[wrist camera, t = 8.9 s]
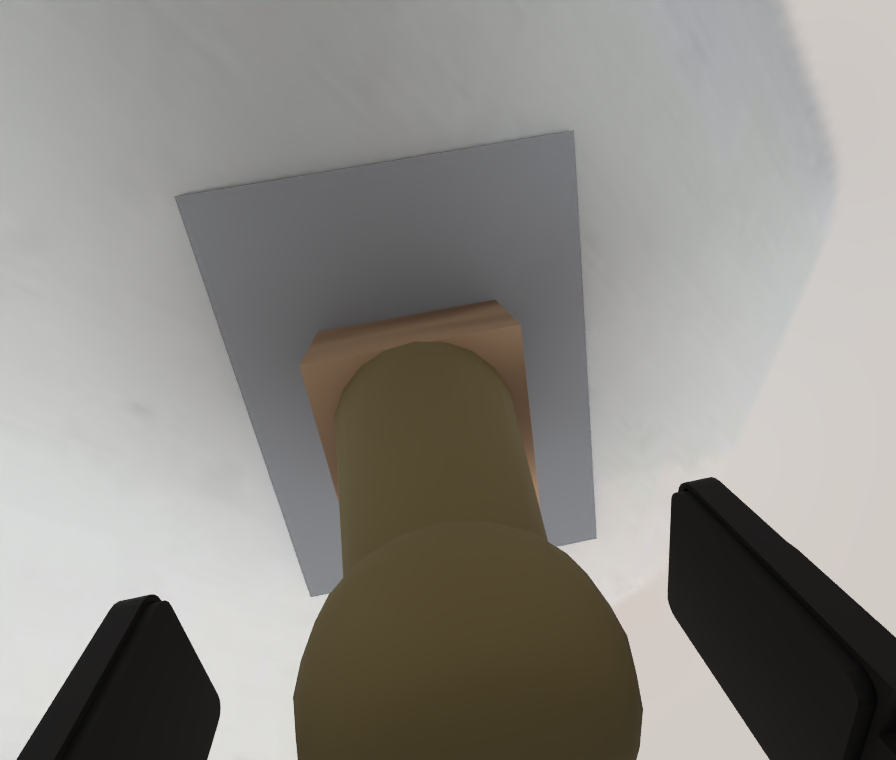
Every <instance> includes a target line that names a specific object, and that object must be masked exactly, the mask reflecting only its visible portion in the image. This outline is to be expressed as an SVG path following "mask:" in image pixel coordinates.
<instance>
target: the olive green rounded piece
mask: <svg viewBox="0 0 896 760" xmlns="http://www.w3.org/2000/svg"><path fill="white" fill-rule="evenodd" d="M335 432H336V454H337V472H338V491H339V510H340V528H341V547H342V566H343V579H342V580H341V581H340V582H339V583H338V585H337V586H336V587H335V588H334V589H333V590H332V592H331V593H330V594H329V596H328V598H327V599H326V601H325V603H324V605H323V607H322V609H321V611H320V613H319V615H318V617H317V619H316V621H315V623H314V626H313V629H312V632H311V634H310V637H309V640H308V643H307V645H306V648H305V651H304V654H303V656H302V659H301V663H300V668H299V672H298V677H297V682H296V687H295V691H294V696H293V701H294V716H295V732H296V744H297V755H298V760H636V758H637V754H638V751H639V747H640V736H641V725H642V713H643V708H642V702H641V696H640V691H639V686H638V680H637V675H636V670H635V666H634V662H633V658H632V654H631V650H630V645H629V642H628V638H627V635H626V633H625V631H624V630H623V628H622V626H621V624H620V623H619V621H618V619H617V617H616V615H615V614H614V612H613V610H612V608H611V606H610V605H609V603H608V602H607V601H606V599H605V598H604V597H603V595H602V594H601V592H600V591H599V590H598V588H597V587H596V585H595V584H594V583H593V581H592V580H591V579H590V577H589V576H588V574H587V573H586V572H585V571H584V570H583V569H582V568H581V567H580V566H579V565H578V564H577V563H576V562H575V561H574V560H573V559H572V558H571V557H570V556H569V555H568V554H566V553H565V552H563V551H562V550H560V549H559V548H557V547H555V546H554V545H552V544H551V543H549V542H548V539H547V535H546V532H545V528H544V524H543V520H542V516H541V512H540V508H539V504H538V500H537V496H536V492H535V488H534V484H533V480H532V477H531V473H530V469H529V465H528V461H527V457H526V453H525V449H524V445H523V441H522V437H521V433H520V429H519V425H518V422H517V418H516V414H515V410H514V406H513V402H512V398H511V394H510V390H509V388H508V387H507V385H506V384H505V382H504V381H503V379H502V378H501V377H500V375H499V374H498V372H497V371H496V369H495V368H494V367H493V366H492V365H490V364H489V363H488V362H486V361H485V360H484V359H482V358H481V357H480V356H478V355H477V354H476V353H474V352H473V351H471V350H468V349H465V348H462V347H459V346H456V345H453V344H450V343H447V342H418V341H414V342H411V343H407V344H404V345H401V346H397V347H394V348H391V349H387V350H385V351H383V352H382V353H380V354H379V355H377V356H376V357H374V358H373V359H371V360H370V361H368V362H367V363H366V364H364V365H363V366H361V367H360V368H359V370H358V371H357V372H356V374H355V375H354V376H353V377H352V379H351V380H350V381H349V383H348V384H347V385H346V387H345V388H344V389H343V392H342V395H341V398H340V401H339V404H338V407H337V410H336V413H335Z"/></svg>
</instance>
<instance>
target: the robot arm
mask: <svg viewBox="0 0 896 760" xmlns="http://www.w3.org/2000/svg"><path fill="white" fill-rule="evenodd" d="M668 601H669V605H670V608H671V610H672V613H673V614H674V616H675V618H676V619H677V621H678V623H679V624H680V625H681V627H682V629H683V630H684V631H685V633H686V634H687V636H688V638H689V639H690V641H691V642H692V644H693V645H694V646H695V648H696V649H697V651H698V653H699V654H700V656H701V657H702V659H703V660H704V662H705V663H706V665H707V666H708V668H709V669H710V671H711V672H712V674H713V675H714V676H715V678H716V680H717V681H718V683H719V684H720V685H721V687H722V689H723V690H724V692H725V693H726V695H727V696H728V698H729V699H730V701H731V702H732V704H733V705H734V707H735V708H736V710H737V711H738V713H739V714H740V716H741V717H742V719H743V720H744V722H745V723H746V725H747V726H748V728H749V729H750V731H751V732H752V734H753V735H754V737H755V738H756V740H757V741H758V743H759V744H760V746H761V747H762V749H763V750H764V752H765V753H766V755H767V756H768V758H769V759H770V760H896V637H894V636H893V635H892V634H891V633H890V632H889V631H888V630H887V629H885V628H884V627H883V626H882V625H881V624H880V623H879V622H878V621H876V620H875V619H874V618H873V617H872V616H871V615H870V614H869V613H868V612H867V611H865V610H864V609H863V608H862V607H861V606H860V605H859V604H858V603H856V602H855V601H854V600H853V599H852V598H851V597H850V596H849V595H848V594H847V593H845V592H844V591H843V590H842V589H841V588H840V587H839V586H838V585H837V584H835V583H834V582H833V581H832V580H831V579H830V578H829V577H828V576H826V575H825V574H824V573H823V572H822V571H821V570H820V569H819V568H818V567H816V566H815V565H814V564H813V563H812V562H811V561H810V560H809V559H808V558H806V557H805V556H804V555H803V554H802V553H801V552H800V551H799V550H798V549H796V548H795V547H793V546H792V545H791V544H789V543H788V542H787V541H785V540H784V539H783V538H782V537H781V536H780V535H779V534H778V533H777V532H775V531H774V530H773V529H772V528H771V527H770V526H769V525H768V524H767V523H766V522H764V521H763V520H762V519H761V518H760V517H759V516H758V515H757V514H756V513H754V512H753V511H752V510H751V509H750V508H749V507H748V506H747V505H745V504H744V503H743V502H742V501H741V500H740V499H739V498H738V497H737V496H736V495H734V494H733V493H732V492H731V491H730V490H729V489H728V488H727V487H725V485H723V484H722V483H721V482H720V481H719V480H717V479H716V478H712V477H710V478H705V479H700V480H695V481H691V482H686V483H683V484H681V485H680V487H679V491H678V492H677V493H674V494H673V495H672V500H671V525H670V550H669V575H668ZM219 717H220V699H219V696H218V694H217V692H216V690H215V688H214V686H213V685H212V683H211V681H210V679H209V677H208V675H207V673H206V671H205V669H204V667H203V665H202V664H201V662H200V660H199V658H198V656H197V654H196V652H195V650H194V648H193V646H192V644H191V643H190V641H189V639H188V637H187V635H186V633H185V631H184V629H183V627H182V625H181V624H180V622H179V620H178V618H177V616H176V614H175V612H174V610H173V608H172V606H171V605H170V603H169V602H167V601H161V600H160V598H159V597H158V596H156V595H147V596H142V597H137V598H133V599H128V600H123V601H119V602H117V603H116V604H114V605H113V607H112V608H111V609H110V610H109V612H108V614H107V615H106V617H105V619H104V620H103V622H102V623H101V625H100V627H99V628H98V630H97V631H96V633H95V635H94V636H93V638H92V639H91V641H90V643H89V644H88V646H87V647H86V649H85V651H84V652H83V654H82V655H81V657H80V659H79V660H78V662H77V663H76V665H75V667H74V668H73V670H72V671H71V673H70V675H69V676H68V678H67V679H66V681H65V683H64V684H63V686H62V687H61V689H60V691H59V692H58V694H57V696H56V697H55V699H54V700H53V702H52V704H51V705H50V707H49V708H48V710H47V712H46V713H45V715H44V716H43V718H42V720H41V721H40V723H39V724H38V726H37V728H36V729H35V731H34V732H33V734H32V736H31V737H30V739H29V740H28V742H27V744H26V745H25V747H24V748H23V750H22V752H21V753H20V755H19V756H18V758H17V760H207V758H208V755H209V752H210V748H211V745H212V741H213V738H214V735H215V731H216V728H217V725H218V721H219Z"/></svg>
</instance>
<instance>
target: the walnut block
mask: <svg viewBox="0 0 896 760" xmlns="http://www.w3.org/2000/svg"><path fill="white" fill-rule="evenodd" d="M414 341H418V342H447V343H450V344H453V345H456V346H459V347H462V348H465V349H468V350H471V351H473V352H474V353H476V354H477V355H478V356H480V357H481V358H482V359H484V360H485V361H486V362H488V363H489V364H490V365H492V366H493V367H494V368H495V369H496V371H497V372H498V374H499V375H500V377H501V378H502V379H503V381H504V382H505V384H506V385H507V387H508V388H509V390H510V394H511V398H512V402H513V406H514V410H515V414H516V418H517V422H518V425H519V429H520V433H521V437H522V441H523V445H524V449H525V453H526V457H527V461H528V465H529V469H530V473H531V477H532V480H533V484H534V488H535V492H536V496H537V500H538V504H539V508H540V501H539V492H538V482H537V473H536V464H535V454H534V445H533V435H532V426H531V417H530V407H529V398H528V389H527V379H526V370H525V361H524V351H523V342H522V333H521V324H520V323H519V322H518V321H517V320H516V319H515V318H514V317H513V316H512V315H511V314H509V313H508V312H507V311H506V310H505V309H504V308H503V307H502V306H501V305H500V304H499V303H498V302H497V301H496V300H490V301H485V302H479V303H474V304H468V305H463V306H457V307H452V308H446V309H441V310H435V311H430V312H424V313H419V314H413V315H408V316H402V317H397V318H391V319H386V320H380V321H375V322H369V323H364V324H358V325H353V326H347V327H342V328H336V329H331V330H325V331H320V332H317V334H316V335H315V337H314V339H313V341H312V343H311V345H310V347H309V348H308V350H307V352H306V354H305V356H304V358H303V359H302V361H301V363H300V365H299V366H300V370H301V373H302V377H303V380H304V384H305V387H306V391H307V394H308V398H309V401H310V405H311V408H312V412H313V415H314V419H315V422H316V425H317V429H318V432H319V436H320V439H321V443H322V446H323V450H324V453H325V457H326V460H327V464H328V467H329V471H330V474H331V478H332V481H333V485H334V488H335V492H336V495H337V498H338V502H339V491H338V472H337V454H336V432H335V413H336V410H337V407H338V404H339V401H340V398H341V395H342V392H343V389H344V388H345V387H346V385H347V384H348V383H349V381H350V380H351V379H352V377H353V376H354V375H355V374H356V372H357V371H358V370H359V368H360V367H361V366H363V365H364V364H366V363H367V362H368V361H370V360H371V359H373V358H374V357H376V356H377V355H379V354H380V353H382V352H383V351H385V350H387V349H391V348H394V347H397V346H401V345H404V344H407V343H411V342H414Z"/></svg>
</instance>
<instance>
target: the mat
mask: <svg viewBox="0 0 896 760" xmlns="http://www.w3.org/2000/svg"><path fill="white" fill-rule="evenodd" d="M175 199H176V202H177V205H178V208H179V211H180V214H181V217H182V220H183V223H184V226H185V229H186V232H187V234H188V237H189V240H190V243H191V246H192V249H193V252H194V255H195V258H196V261H197V264H198V267H199V270H200V273H201V276H202V279H203V282H204V284H205V287H206V290H207V293H208V296H209V299H210V302H211V305H212V308H213V311H214V314H215V317H216V320H217V323H218V326H219V329H220V332H221V334H222V337H223V340H224V343H225V346H226V349H227V352H228V355H229V358H230V361H231V364H232V367H233V370H234V373H235V376H236V379H237V382H238V384H239V387H240V390H241V393H242V396H243V399H244V402H245V405H246V408H247V411H248V414H249V417H250V420H251V423H252V426H253V429H254V432H255V434H256V437H257V440H258V443H259V446H260V449H261V452H262V455H263V458H264V461H265V464H266V467H267V470H268V473H269V476H270V479H271V482H272V484H273V487H274V490H275V493H276V496H277V499H278V502H279V505H280V508H281V511H282V514H283V517H284V520H285V523H286V526H287V529H288V532H289V534H290V537H291V540H292V543H293V546H294V549H295V552H296V555H297V558H298V561H299V564H300V567H301V570H302V573H303V576H304V579H305V582H306V584H307V587H308V590H309V593H310V596H311V597H313V596H318V595H323V594H328V593H331V592H332V590H333V589H334V588H335V587H336V586H337V585H338V583H339V582H340V581H341V580H342V579H343V566H342V547H341V528H340V510H339V502H338V498H337V495H336V492H335V488H334V485H333V481H332V478H331V474H330V471H329V467H328V464H327V460H326V457H325V453H324V450H323V446H322V443H321V439H320V436H319V432H318V429H317V425H316V422H315V419H314V415H313V412H312V408H311V405H310V401H309V398H308V394H307V391H306V387H305V384H304V380H303V377H302V373H301V370H300V366H299V365H300V363H301V361H302V359H303V358H304V356H305V354H306V352H307V350H308V348H309V347H310V345H311V343H312V341H313V339H314V337H315V335H316V334H317V332H320V331H325V330H331V329H336V328H342V327H347V326H353V325H358V324H364V323H369V322H375V321H380V320H386V319H391V318H397V317H402V316H408V315H413V314H419V313H424V312H430V311H435V310H441V309H446V308H452V307H457V306H463V305H468V304H474V303H479V302H485V301H490V300H496V301H497V302H498V303H499V304H500V305H501V306H502V307H503V308H504V309H505V310H506V311H507V312H508V313H509V314H511V315H512V316H513V317H514V318H515V319H516V320H517V321H518V322H519V323H520V324H521V333H522V342H523V351H524V361H525V370H526V379H527V389H528V398H529V407H530V417H531V426H532V435H533V445H534V454H535V464H536V473H537V482H538V492H539V501H540V512H541V516H542V520H543V524H544V528H545V532H546V535H547V539H548V542H549V543H551V544H552V545H554V546H555V547H557V546H562V545H567V544H572V543H576V542H581V541H586V540H591V539H596V538H597V537H596V519H595V502H594V484H593V466H592V448H591V430H590V413H589V395H588V377H587V359H586V341H585V324H584V306H583V288H582V270H581V252H580V235H579V217H578V199H577V181H576V164H575V146H574V130H573V131H567V132H561V133H555V134H549V135H543V136H537V137H531V138H525V139H519V140H513V141H507V142H501V143H495V144H489V145H482V146H476V147H470V148H464V149H458V150H452V151H446V152H440V153H434V154H428V155H422V156H416V157H410V158H404V159H398V160H392V161H386V162H380V163H374V164H368V165H362V166H356V167H350V168H344V169H338V170H332V171H326V172H320V173H314V174H308V175H302V176H296V177H290V178H284V179H278V180H271V181H265V182H259V183H253V184H247V185H241V186H235V187H229V188H223V189H217V190H211V191H205V192H199V193H193V194H187V195H181V196H175Z"/></svg>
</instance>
